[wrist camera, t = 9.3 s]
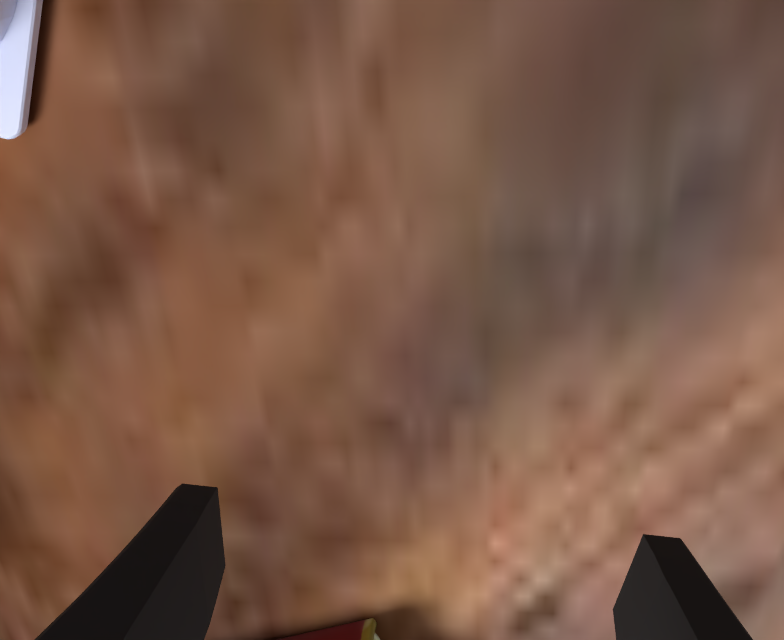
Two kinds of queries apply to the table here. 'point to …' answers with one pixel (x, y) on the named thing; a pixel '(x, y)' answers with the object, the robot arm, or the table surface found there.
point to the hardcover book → (342, 632)
